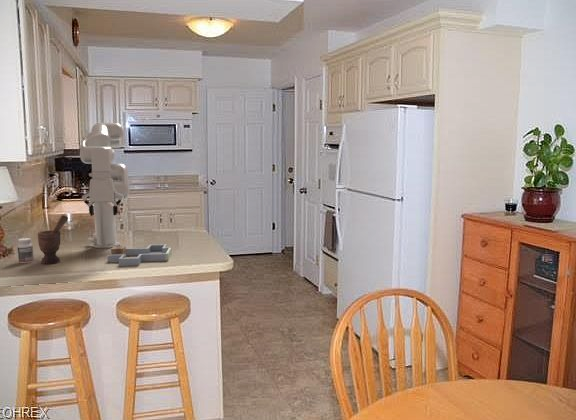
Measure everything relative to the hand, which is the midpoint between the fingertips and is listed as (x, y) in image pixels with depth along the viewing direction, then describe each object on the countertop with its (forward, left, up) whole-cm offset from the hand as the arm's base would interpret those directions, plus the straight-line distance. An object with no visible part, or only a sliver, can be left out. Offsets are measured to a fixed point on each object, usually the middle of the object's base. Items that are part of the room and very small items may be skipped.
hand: (103, 215), depth 219 cm
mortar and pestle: (-20, -4, -19) cm, 28 cm away
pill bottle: (-32, -3, -19) cm, 38 cm away
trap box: (+15, -1, -19) cm, 24 cm away
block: (+6, -1, -19) cm, 20 cm away
